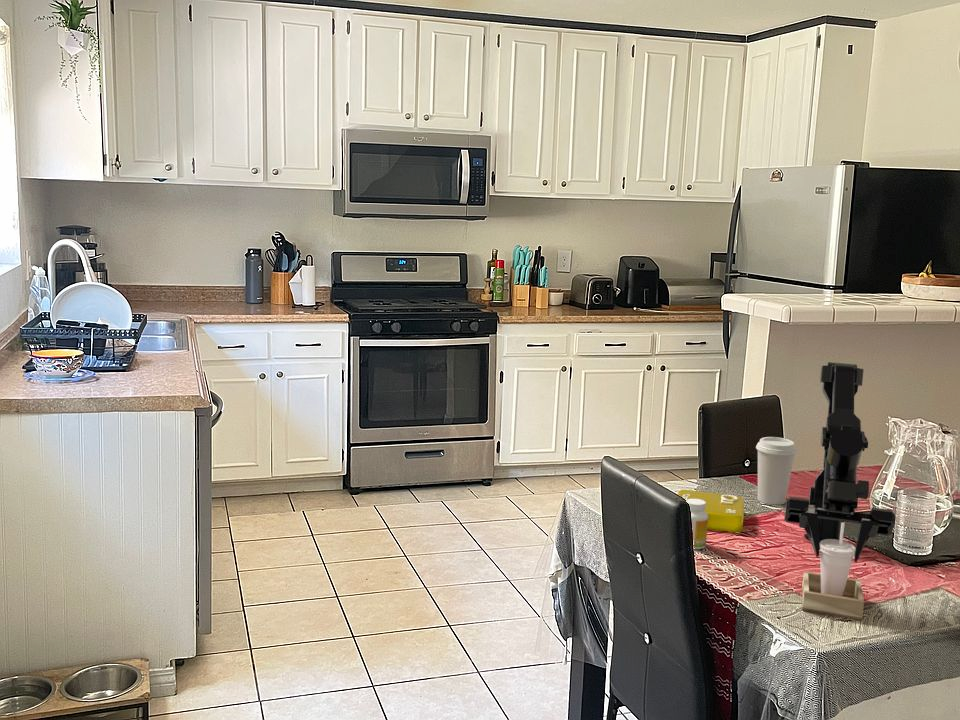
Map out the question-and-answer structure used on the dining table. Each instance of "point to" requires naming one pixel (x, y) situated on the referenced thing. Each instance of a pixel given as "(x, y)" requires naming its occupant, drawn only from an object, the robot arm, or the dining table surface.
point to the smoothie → (835, 564)
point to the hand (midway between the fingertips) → (836, 558)
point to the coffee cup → (774, 469)
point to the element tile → (720, 509)
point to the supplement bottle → (698, 522)
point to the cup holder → (832, 598)
